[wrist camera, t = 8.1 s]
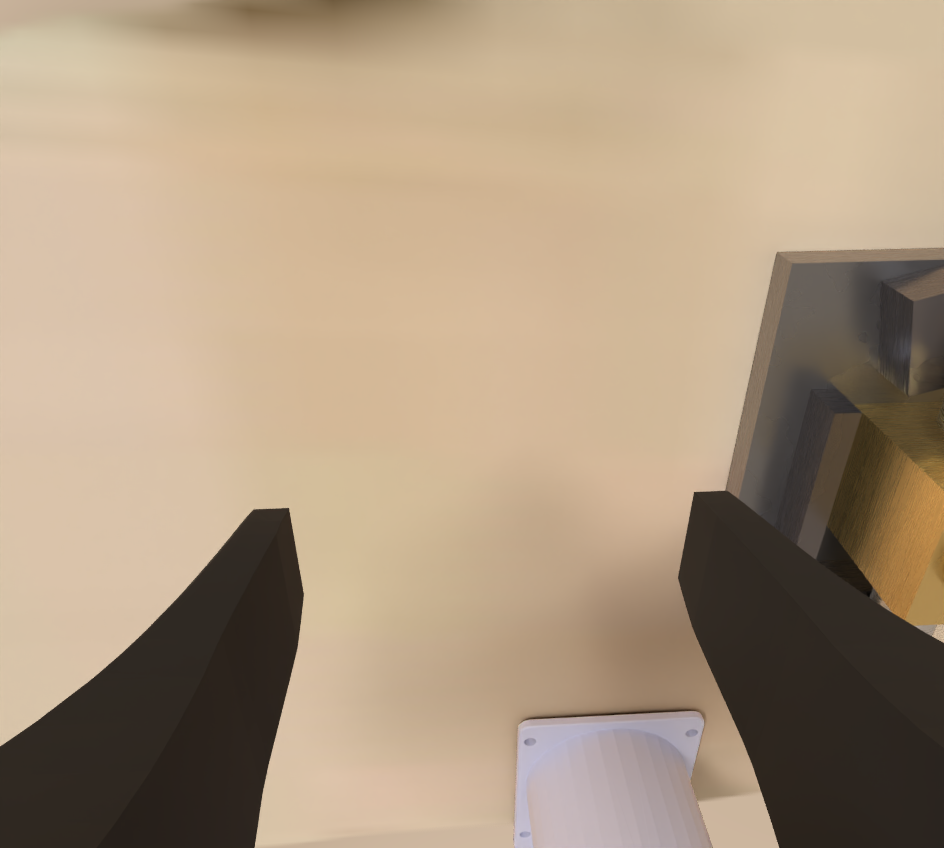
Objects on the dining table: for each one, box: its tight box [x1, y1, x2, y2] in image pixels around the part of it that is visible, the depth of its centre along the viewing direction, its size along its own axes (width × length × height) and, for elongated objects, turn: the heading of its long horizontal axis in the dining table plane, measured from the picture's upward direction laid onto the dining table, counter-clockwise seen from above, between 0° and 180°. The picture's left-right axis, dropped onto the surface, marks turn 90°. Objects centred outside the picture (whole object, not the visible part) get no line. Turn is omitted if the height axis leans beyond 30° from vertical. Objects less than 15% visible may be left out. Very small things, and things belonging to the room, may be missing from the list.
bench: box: [726, 248, 944, 636], centre depth 23 cm, size 16×10×5 cm, turn 0°
